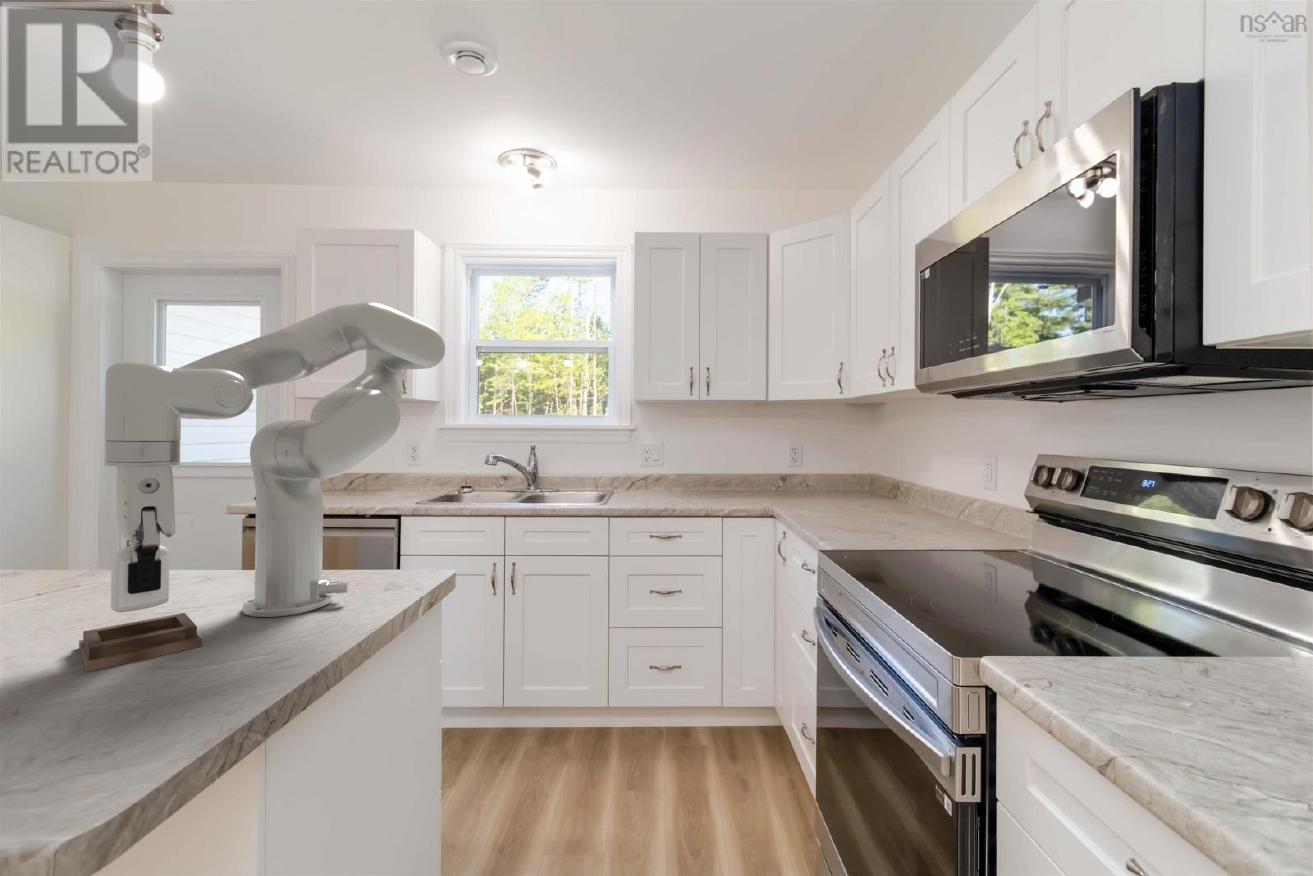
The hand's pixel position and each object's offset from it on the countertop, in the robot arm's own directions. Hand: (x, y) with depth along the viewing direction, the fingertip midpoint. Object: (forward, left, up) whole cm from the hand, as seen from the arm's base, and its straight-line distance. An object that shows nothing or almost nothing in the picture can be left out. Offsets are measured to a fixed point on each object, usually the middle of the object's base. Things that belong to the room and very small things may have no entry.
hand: (141, 587), depth 74 cm
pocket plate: (0, 0, -8) cm, 8 cm away
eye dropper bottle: (0, 0, -3) cm, 3 cm away
